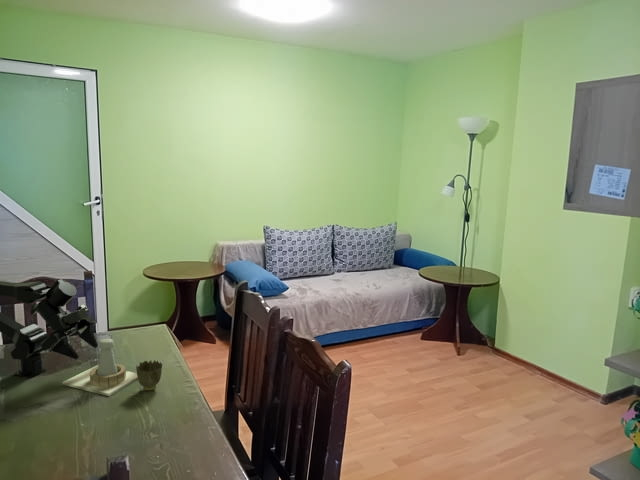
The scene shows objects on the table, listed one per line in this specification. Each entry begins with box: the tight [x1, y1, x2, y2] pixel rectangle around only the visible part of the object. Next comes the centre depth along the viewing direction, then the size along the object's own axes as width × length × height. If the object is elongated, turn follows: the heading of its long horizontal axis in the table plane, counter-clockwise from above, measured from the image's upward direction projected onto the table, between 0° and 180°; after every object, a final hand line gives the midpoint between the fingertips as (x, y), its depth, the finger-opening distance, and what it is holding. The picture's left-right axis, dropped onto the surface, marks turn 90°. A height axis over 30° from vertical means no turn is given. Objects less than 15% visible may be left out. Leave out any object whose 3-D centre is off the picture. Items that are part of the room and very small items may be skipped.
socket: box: [62, 363, 138, 397], centre depth 145 cm, size 18×14×4 cm
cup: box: [135, 360, 163, 393], centre depth 141 cm, size 8×7×8 cm
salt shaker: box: [97, 338, 117, 376], centre depth 144 cm, size 6×6×13 cm
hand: (87, 352), depth 145 cm, fingers open, 9 cm apart
